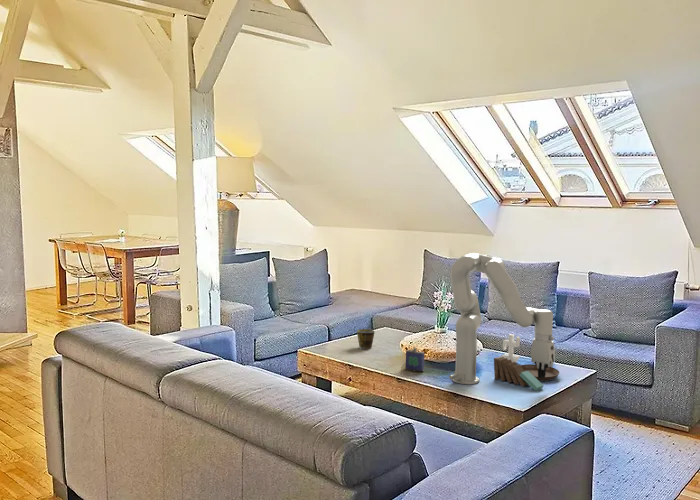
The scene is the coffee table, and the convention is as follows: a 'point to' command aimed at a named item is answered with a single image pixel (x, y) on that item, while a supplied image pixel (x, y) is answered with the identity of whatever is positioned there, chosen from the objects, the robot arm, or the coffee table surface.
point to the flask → (414, 360)
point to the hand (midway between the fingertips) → (541, 377)
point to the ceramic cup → (365, 338)
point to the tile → (531, 380)
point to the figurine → (511, 348)
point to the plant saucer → (532, 368)
